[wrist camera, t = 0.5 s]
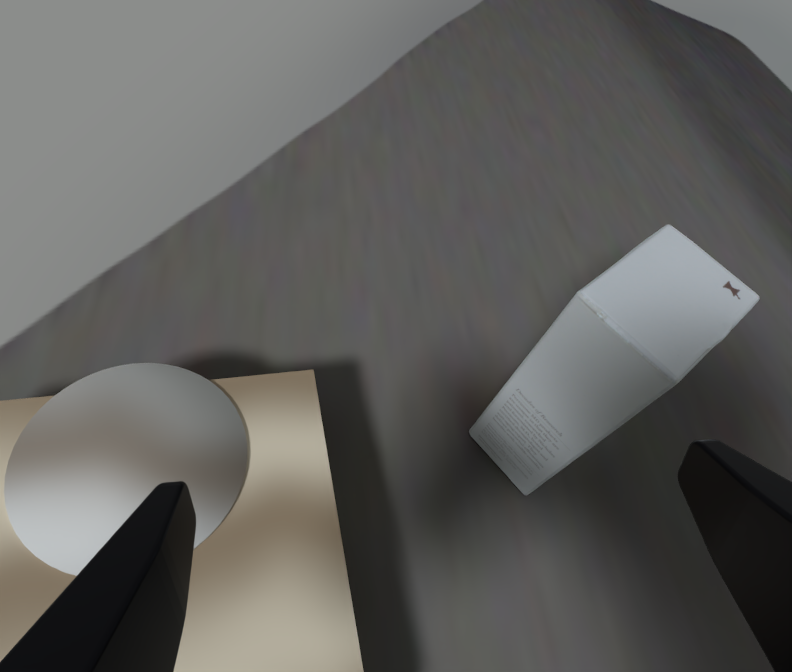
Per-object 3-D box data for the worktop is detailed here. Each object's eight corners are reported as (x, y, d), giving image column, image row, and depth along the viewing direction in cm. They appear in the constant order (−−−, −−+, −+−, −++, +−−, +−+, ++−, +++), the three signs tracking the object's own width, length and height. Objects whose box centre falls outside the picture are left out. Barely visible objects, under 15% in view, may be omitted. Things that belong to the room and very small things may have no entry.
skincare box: (536, 372, 30) (671, 218, 20) (594, 430, 29) (768, 297, 19) (461, 432, 27) (575, 287, 17) (522, 501, 26) (684, 386, 16)
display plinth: (363, 760, 19) (381, 775, 16) (-121, 914, 15) (-217, 971, 12) (305, 385, 27) (310, 347, 24) (-31, 422, 22) (-77, 382, 20)
